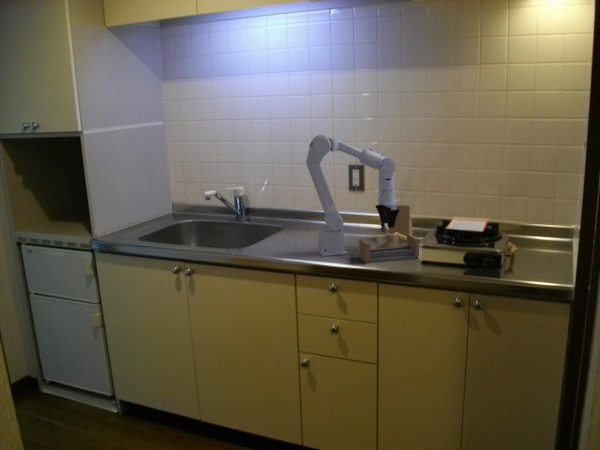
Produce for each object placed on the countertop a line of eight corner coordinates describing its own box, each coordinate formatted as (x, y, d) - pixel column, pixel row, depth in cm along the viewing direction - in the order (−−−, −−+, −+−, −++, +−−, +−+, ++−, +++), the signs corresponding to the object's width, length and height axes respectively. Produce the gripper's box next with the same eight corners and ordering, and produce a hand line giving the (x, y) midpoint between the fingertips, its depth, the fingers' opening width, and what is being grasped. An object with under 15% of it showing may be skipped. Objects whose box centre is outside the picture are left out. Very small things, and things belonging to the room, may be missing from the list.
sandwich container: (414, 233, 241) (414, 198, 238) (409, 242, 227) (410, 205, 223) (393, 232, 243) (393, 198, 240) (388, 241, 229) (388, 204, 226)
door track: (366, 263, 200) (365, 243, 199) (359, 257, 208) (359, 238, 206) (419, 258, 204) (419, 239, 202) (411, 252, 212) (411, 234, 210)
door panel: (378, 251, 214) (378, 236, 213) (376, 250, 216) (376, 235, 215) (398, 250, 216) (398, 234, 215) (396, 248, 218) (396, 233, 216)
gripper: (404, 191, 205) (404, 228, 208) (390, 186, 219) (390, 220, 222) (385, 193, 204) (386, 230, 207) (372, 187, 217) (373, 222, 220)
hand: (387, 225), depth 214 cm, fingers open, 7 cm apart
